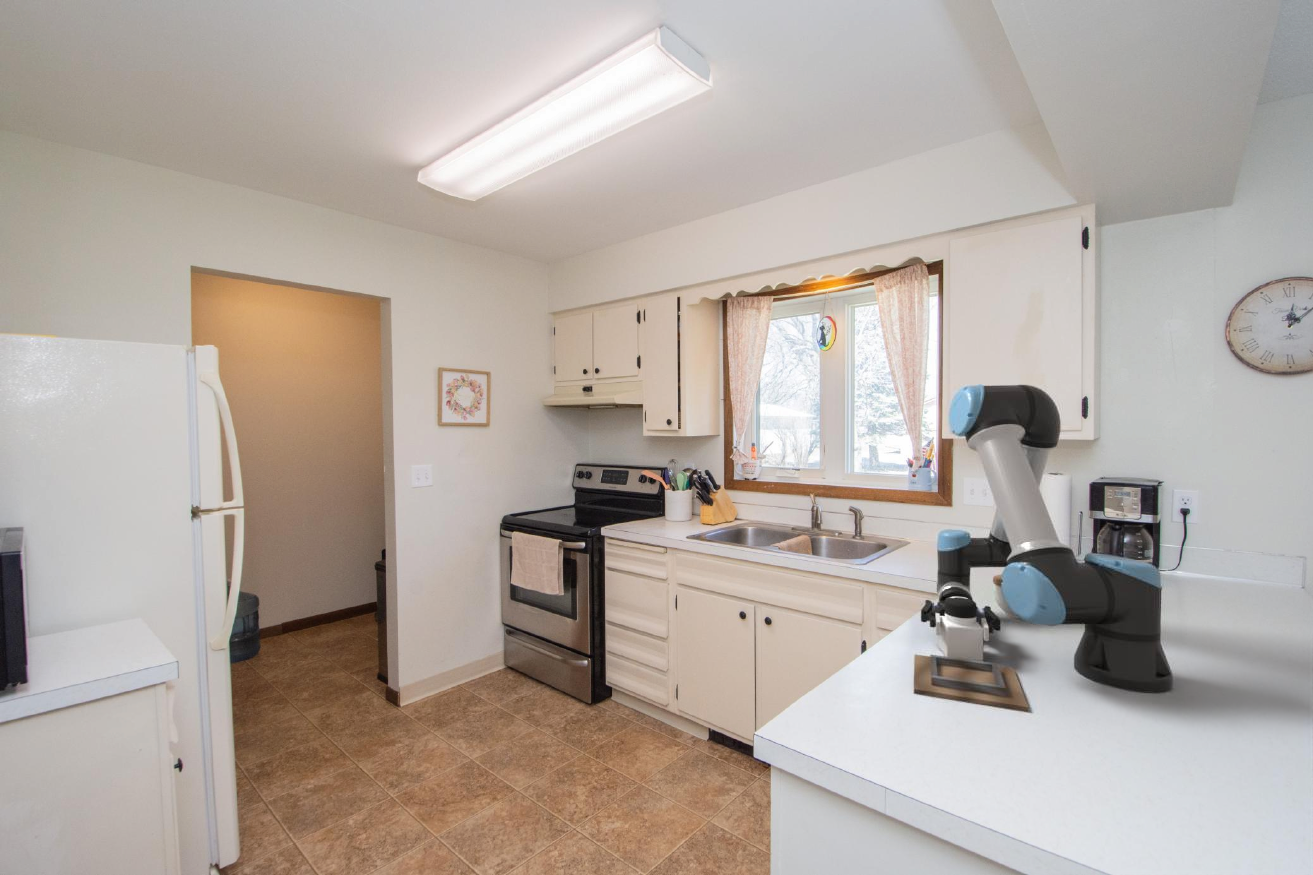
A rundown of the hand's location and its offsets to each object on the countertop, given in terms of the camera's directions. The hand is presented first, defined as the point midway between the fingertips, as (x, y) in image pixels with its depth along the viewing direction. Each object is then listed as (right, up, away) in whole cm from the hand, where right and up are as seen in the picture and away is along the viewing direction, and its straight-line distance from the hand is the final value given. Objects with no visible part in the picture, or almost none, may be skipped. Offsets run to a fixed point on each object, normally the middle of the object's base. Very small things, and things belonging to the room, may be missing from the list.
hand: (962, 631), depth 122 cm
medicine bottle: (+2, -7, +4) cm, 8 cm away
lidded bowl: (+31, -6, +31) cm, 44 cm away
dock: (-4, -7, -9) cm, 12 cm away
